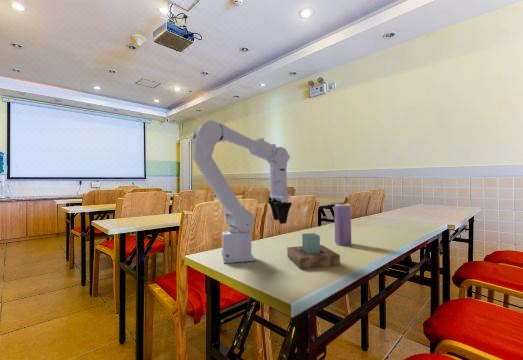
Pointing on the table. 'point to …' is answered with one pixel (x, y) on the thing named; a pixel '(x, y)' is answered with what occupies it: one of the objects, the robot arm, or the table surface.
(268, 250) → the table surface
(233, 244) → the robot arm
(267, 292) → the table surface
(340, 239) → the beverage can
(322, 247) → the well block
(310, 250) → the bracket post
